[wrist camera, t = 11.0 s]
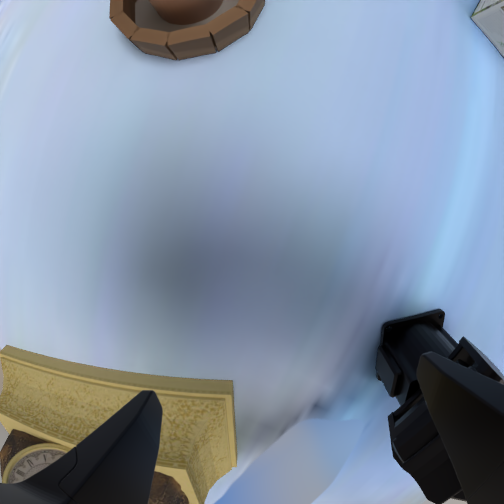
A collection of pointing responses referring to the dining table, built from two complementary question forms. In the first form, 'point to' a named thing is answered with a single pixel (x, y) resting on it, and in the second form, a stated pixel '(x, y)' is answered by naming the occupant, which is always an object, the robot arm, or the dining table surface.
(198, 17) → the terracotta canister
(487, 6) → the syrup box
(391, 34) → the dining table surface
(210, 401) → the decorative clock
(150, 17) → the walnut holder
